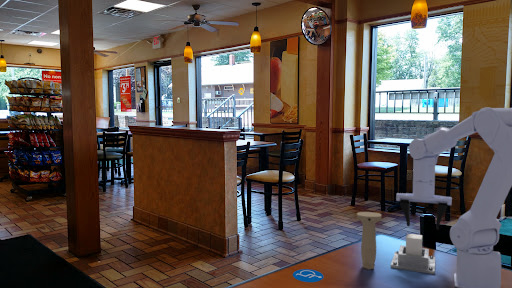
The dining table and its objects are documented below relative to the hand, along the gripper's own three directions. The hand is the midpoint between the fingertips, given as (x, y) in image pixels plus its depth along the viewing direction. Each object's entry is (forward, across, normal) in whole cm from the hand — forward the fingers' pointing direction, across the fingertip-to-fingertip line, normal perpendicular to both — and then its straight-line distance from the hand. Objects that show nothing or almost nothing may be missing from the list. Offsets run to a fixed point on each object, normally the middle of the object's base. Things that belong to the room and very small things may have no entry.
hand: (422, 227), depth 111 cm
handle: (+10, +13, +13) cm, 21 cm away
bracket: (+9, +2, +5) cm, 11 cm away
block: (+9, +2, +5) cm, 10 cm away
